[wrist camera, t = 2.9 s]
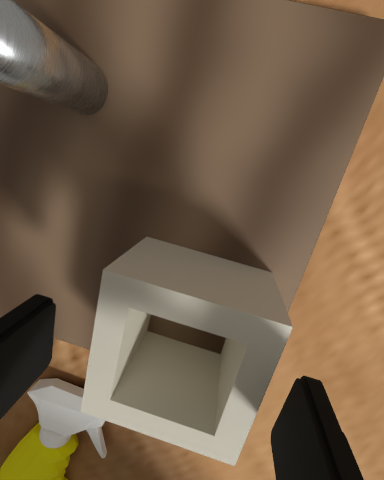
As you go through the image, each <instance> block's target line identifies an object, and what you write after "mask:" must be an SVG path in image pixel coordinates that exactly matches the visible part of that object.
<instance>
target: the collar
mask: <svg viewBox="0 0 384 480" xmlns="http://www.w3.org/2000/svg"><path fill="white" fill-rule="evenodd" d="M151 315H154V316H158V317H161V318H164V319H167V320H170V321H174V322H177V323H180V324H183V325H186V326H190V327H193V328H196V329H199V330H202V331H206V332H209V333H212V334H215V335H218V336H222V337H225V338H226V340H225V343H224V346H223V349H222V352H221V354H218V353H215V352H212V351H209V350H206V349H202V348H199V347H196V346H193V345H190V344H187V343H184V342H180V341H177V340H174V339H171V338H168V337H165V336H162V335H158V334H155V333H152V332H149V331H147V330H148V325H149V321H150V317H151ZM292 328H293V326H292V323H291V321H290V318H289V315H288V313H287V310H286V307H285V305H284V302H283V299H282V297H281V294H280V291H279V289H278V286H277V283H276V281H275V278H274V275H273V273H272V272H269V271H265V270H262V269H258V268H255V267H251V266H248V265H244V264H241V263H237V262H234V261H230V260H227V259H223V258H220V257H216V256H213V255H209V254H206V253H202V252H199V251H195V250H192V249H188V248H185V247H182V246H178V245H175V244H171V243H168V242H164V241H161V240H157V239H154V238H150V237H145V238H144V239H143V240H141V241H140V242H139V243H137V244H136V245H135V246H133V247H132V248H131V249H130V250H128V251H127V252H126V253H124V254H123V255H122V256H120V257H119V258H118V259H116V260H115V261H114V262H112V263H111V264H110V265H108V266H107V267H106V268H104V269H103V273H102V279H101V285H100V291H99V298H98V304H97V310H96V317H95V323H94V329H93V336H92V342H91V348H90V355H89V361H88V367H87V373H86V380H85V386H84V392H83V399H82V405H81V411H80V412H83V413H86V414H89V415H91V416H94V417H97V418H100V419H103V420H106V421H108V422H111V423H114V424H117V425H120V426H123V427H125V428H128V429H131V430H134V431H137V432H140V433H142V434H145V435H148V436H151V437H154V438H157V439H159V440H162V441H165V442H168V443H171V444H174V445H176V446H179V447H182V448H185V449H188V450H191V451H193V452H196V453H199V454H202V455H205V456H208V457H210V458H213V459H216V460H219V461H222V462H225V463H227V464H230V465H233V466H235V464H236V462H237V459H238V457H239V454H240V452H241V450H242V447H243V445H244V442H245V440H246V438H247V435H248V433H249V431H250V428H251V426H252V423H253V421H254V419H255V416H256V414H257V411H258V409H259V407H260V404H261V402H262V399H263V397H264V395H265V392H266V390H267V388H268V385H269V383H270V380H271V378H272V376H273V373H274V371H275V368H276V366H277V364H278V361H279V359H280V357H281V354H282V352H283V349H284V347H285V345H286V342H287V340H288V337H289V335H290V333H291V330H292Z"/></svg>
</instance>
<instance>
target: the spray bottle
mask: <svg viewBox="0 0 384 480" xmlns="http://www.w3.org/2000/svg"><path fill="white" fill-rule="evenodd" d="M83 392H84V389H83V388H80V387H78V386H75V385H73V384H70V383H68V382H65V381H63V380H60V379H58V378H52V379H39V380H38V381H37V382H36V384H35V385H34V386H33V387H32V388H31V389H30V390H29V391H28V392H27V394H28V395H29V396H30V398H31V399H32V400H33V402H34V403H35V405H36V408H37V411H38V415H39V422H38V423H37V424H36V425H35V426H34V427H33V428H32V429H31V430H30V432H29V433H28V434H27V435H26V436H25V437H24V438H23V439H22V440H21V441H20V442H19V443H18V444H17V446H16V447H15V448H14V450H13V451H12V452H11V453H10V455H9V456H8V457H7V459H6V460H5V462H4V463H3V465H2V466H1V468H0V480H68V479H67V478H66V477H65V476H64V474H65V473H66V470H65V468H66V467H67V466H68V464H69V461H70V455H71V454H72V453H74V452H75V450H76V448H77V446H78V444H79V443H78V437H77V435H76V433H78V432H81V431H83V430H86V431H87V432H88V434H89V436H90V438H91V440H92V442H93V444H94V446H95V448H96V450H97V451H98V453H99V455H100V456H101V458H105V457H106V454H107V450H106V446H105V442H104V437H103V433H102V426H103V424H104V422H105V420H103V419H100V418H97V417H94V416H91V415H89V414H86V413H83V412H80V411H81V405H82V399H83Z"/></svg>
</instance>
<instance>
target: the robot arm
mask: <svg viewBox="0 0 384 480" xmlns="http://www.w3.org/2000/svg"><path fill="white" fill-rule="evenodd" d="M55 314H56V304H55V303H53V299H52V298H49V297H46V296H43V295H40V294H36V295H34V296H32V297H31V298H29V299H28V300H26V301H25V302H23V303H22V304H20V305H19V306H17V307H16V308H14V309H13V310H11V311H10V312H8V313H7V314H5V315H4V316H2V317H1V318H0V419H1V418H2V417H3V416H4V415H5V414H6V412H7V411H8V410H9V409H10V408H11V407H12V406H13V405H14V404H15V402H16V401H17V400H18V399H19V398H20V397H21V396H22V395H23V394H24V392H25V391H26V390H27V389H28V388H29V387H30V386H31V385H32V384H33V383H34V381H35V380H36V379H37V378H38V377H39V376H40V375H41V374H42V373H43V371H44V370H45V369H46V368H47V367H48V365H49V363H50V361H51V358H52V347H53V336H54V325H55ZM271 446H272V453H273V460H274V467H275V475H276V480H364V479H363V477H362V474H361V472H360V470H359V467H358V465H357V462H356V460H355V458H354V455H353V453H352V450H351V448H350V445H349V443H348V441H347V438H346V436H345V435H344V433H343V432H342V430H341V428H340V425H339V423H338V420H337V418H336V416H335V413H334V411H333V408H332V406H331V403H330V401H329V398H328V396H327V393H326V391H325V389H324V386H323V384H322V382H321V381H320V380H317V379H313V378H310V377H307V376H302V377H301V379H299V378H297V379H296V380H295V382H294V384H293V386H292V389H291V391H290V393H289V395H288V397H287V399H286V401H285V403H284V405H283V408H282V410H281V412H280V414H279V416H278V418H277V420H276V422H275V424H274V427H273V429H272V432H271Z"/></svg>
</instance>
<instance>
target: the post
mask: <svg viewBox="0 0 384 480" xmlns="http://www.w3.org/2000/svg"><path fill="white" fill-rule="evenodd" d="M0 84H1V85H4V86H7V87H9V88H12V89H15V90H18V91H20V92H23V93H26V94H28V95H31V96H34V97H37V98H39V99H42V100H45V101H47V102H50V103H53V104H56V105H58V106H61V107H64V108H66V109H69V110H72V111H75V112H77V113H80V114H84V115H90V114H94V113H96V112H98V111H99V110H100V109H101V108H102V107H103V106H104V104H105V102H106V100H107V96H108V82H107V79H106V76H105V74H104V72H103V71H102V69H101V68H100V67H99V66H98V65H96V64H95V63H94V62H93V61H91V60H90V59H89V58H87V57H86V56H85V55H83V54H82V53H81V52H79V51H78V50H77V49H76V48H74V47H73V46H72V45H70V44H69V43H68V42H66V41H65V40H64V39H63V38H61V37H60V36H59V35H57V34H56V33H55V32H53V31H52V30H51V29H50V28H48V27H47V26H46V25H44V24H43V23H42V22H40V21H39V20H38V19H36V18H35V17H34V16H33V15H31V14H30V13H29V12H27V11H26V10H25V9H23V8H22V7H21V6H20V5H18V4H17V3H16V2H14V1H13V0H0Z"/></svg>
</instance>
